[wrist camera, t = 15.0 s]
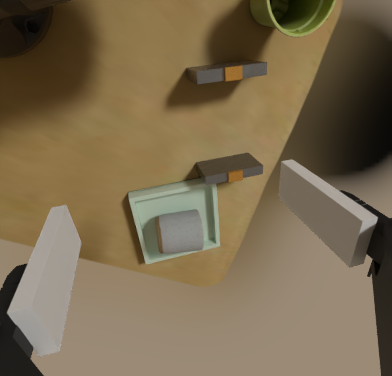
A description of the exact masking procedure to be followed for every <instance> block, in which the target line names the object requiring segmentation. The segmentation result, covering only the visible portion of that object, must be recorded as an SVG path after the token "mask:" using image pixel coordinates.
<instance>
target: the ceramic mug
mask: <svg viewBox="0 0 392 376" xmlns="http://www.w3.org/2000/svg"><path fill="white" fill-rule="evenodd" d="M155 224H156V233H157V242H158V250H159V252H160V253H162V254H174V253H181V252H191V251H200V250H202V249H203V247H204V233H203V226H202V221H201V217H200V214H199V212H198V210H197V209H193V210H187V211H181V212H174V213H167V214H162V215H159V216H157V217H156V219H155Z"/></svg>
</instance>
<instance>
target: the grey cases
mask: <svg viewBox="0 0 392 376" xmlns="http://www.w3.org/2000/svg"><path fill="white" fill-rule="evenodd" d="M262 75H267V62H261V61H253V60H245V61H237V62H229V63H221V64H213V65H205V66H198V67H190V68H187V76H188V80H190V81H192V82H194V83H196V84H204V83H212V82H219V81H233V80H240V79H243V78H248V77H255V76H262ZM196 165H197V171H198V173H199V175H200V176H201V178H202V180H203V181H204V183H205V185H211V184H216V183H221V182H226V181H228V182H229V183H230V182H235V181H239V180H243V178H245V177H250V176H255V175H260V174H263V165H262V164H261V163H260V162H259V161H257V160H256V159H255V158H254V157H253V156H252V155H250V154H249V153H244V154H238V155H233V156H228V157H223V158H217V159H212V160H207V161H202V162H196Z"/></svg>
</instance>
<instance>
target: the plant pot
mask: <svg viewBox="0 0 392 376" xmlns="http://www.w3.org/2000/svg"><path fill="white" fill-rule="evenodd" d="M335 2H336V0H272V3H270V1H269V0H250V10H251V13H252V16H253V17H254V19H255V20H256V21H257V22H258V23H259V24H261V25H264V26H268V27H274V28H277V29H278V30H279V31H280V32H282V33H283V34H285V35H288V36H291V37H302V36H305V35H308V34H310V33H312V32H314V31H315V30H316V29H318V28H319V27H320V26H321V25H322V24H323V23H324V21H325V20H326V19H327V18H328V16H329V15H330V13H331V11H332V9H333V7H334V5H335ZM277 15H278V17H277V19H276V20H275V18H274V17H276V16H277Z"/></svg>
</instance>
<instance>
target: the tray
mask: <svg viewBox="0 0 392 376" xmlns="http://www.w3.org/2000/svg"><path fill="white" fill-rule="evenodd" d="M128 194H129V202H130V206H131V209H132V213H133V217H134V221H135V225H136V228H137V232H138V236H139V240H140V244H141V248H142V251H143V255H144V259H145V263H146V264H150V263H154V262H158V261H162V260H166V259H170V258H174V257H178V256H182V255H186V254H190V253H194V252H198V251H191V252H181V253H174V254H162V253H160V252H159V250H158V242H157V233H156V224H155V219H156V217H157V216H159V215H162V214H167V213H174V212H181V211H187V210H193V209H197V210H198V212H199V214H200V217H201V221H202V226H203V233H204V247H203V249H202V250H206V249H210V248H214V247H218V246H220V235H219V218H218V202H217V186H216V184H211V185H205V183H204V181H203V180H202V178H196V179H191V180H186V181H181V182H176V183H171V184H166V185H161V186H156V187H151V188H147V189H142V190H137V191H132V192H128ZM202 250H200V251H202Z"/></svg>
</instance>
